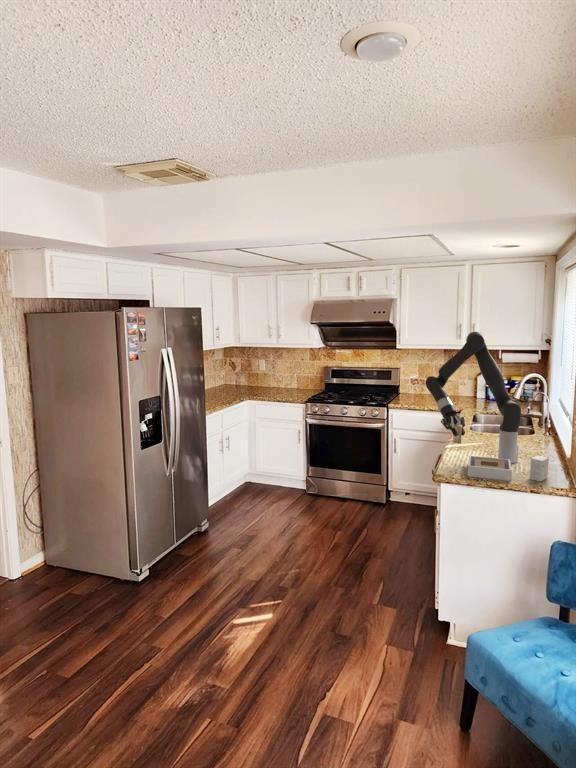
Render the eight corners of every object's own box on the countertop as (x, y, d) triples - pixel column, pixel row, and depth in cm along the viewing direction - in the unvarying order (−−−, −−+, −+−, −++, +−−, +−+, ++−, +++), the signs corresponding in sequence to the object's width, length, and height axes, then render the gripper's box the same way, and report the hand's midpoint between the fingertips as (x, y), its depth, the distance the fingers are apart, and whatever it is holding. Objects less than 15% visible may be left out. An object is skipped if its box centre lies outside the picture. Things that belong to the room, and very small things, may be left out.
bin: (468, 465, 275) (469, 455, 274) (509, 469, 268) (510, 459, 267) (467, 476, 257) (468, 465, 256) (511, 481, 250) (511, 470, 249)
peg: (457, 441, 273) (458, 424, 272) (462, 443, 269) (463, 426, 268) (451, 441, 272) (452, 425, 270) (456, 443, 268) (457, 426, 267)
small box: (535, 475, 259) (537, 455, 257) (547, 478, 255) (548, 457, 253) (529, 479, 253) (530, 458, 252) (540, 481, 249) (542, 460, 248)
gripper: (438, 404, 272) (451, 432, 263) (460, 403, 277) (474, 430, 268) (432, 412, 278) (445, 440, 269) (454, 410, 283) (467, 437, 273)
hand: (459, 434), depth 268 cm, fingers closed on peg, 4 cm apart
